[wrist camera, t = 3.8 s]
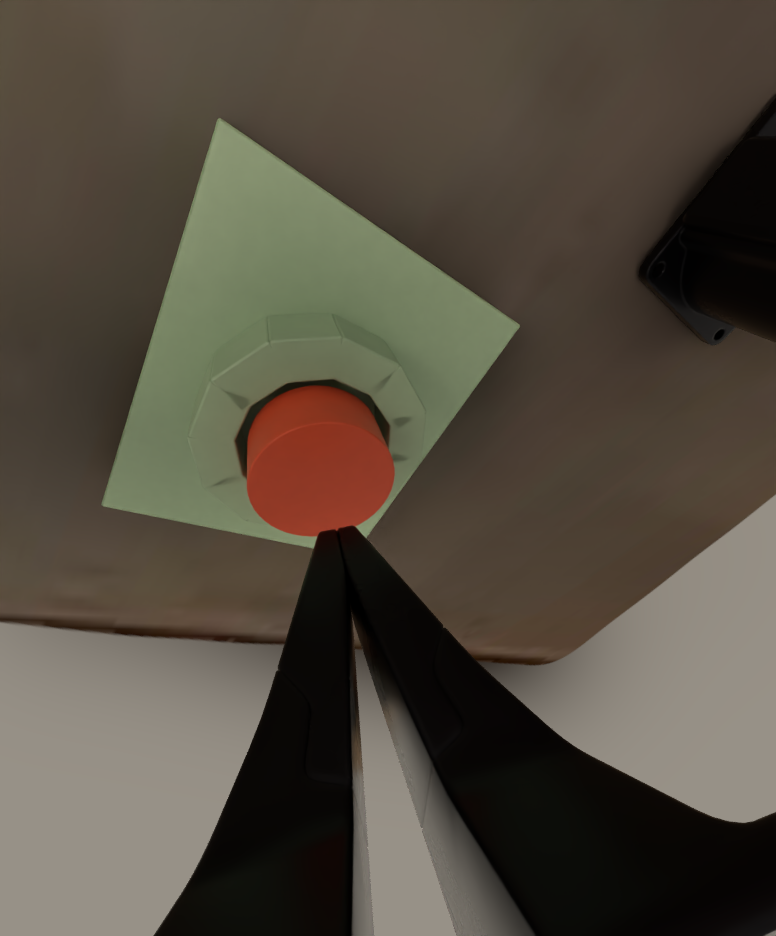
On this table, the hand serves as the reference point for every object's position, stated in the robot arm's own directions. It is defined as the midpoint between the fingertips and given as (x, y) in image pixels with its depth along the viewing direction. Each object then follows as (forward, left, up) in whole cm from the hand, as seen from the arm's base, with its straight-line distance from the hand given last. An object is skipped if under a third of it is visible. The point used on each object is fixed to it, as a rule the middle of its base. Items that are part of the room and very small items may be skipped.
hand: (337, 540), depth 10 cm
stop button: (0, 0, -4) cm, 4 cm away
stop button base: (0, 0, -8) cm, 8 cm away
